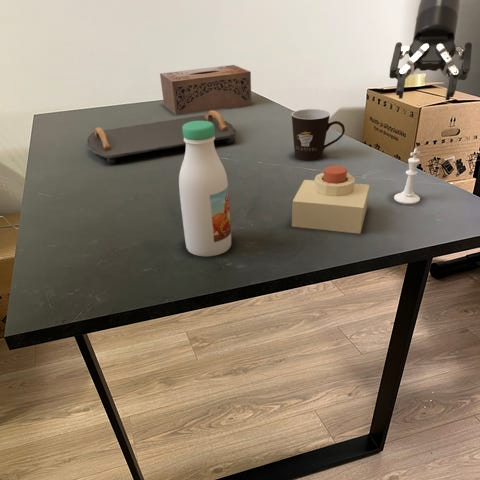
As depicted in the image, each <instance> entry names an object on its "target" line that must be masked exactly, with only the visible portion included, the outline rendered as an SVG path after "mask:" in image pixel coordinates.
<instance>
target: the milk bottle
mask: <svg viewBox="0 0 480 480" xmlns="http://www.w3.org/2000/svg"><path fill="white" fill-rule="evenodd" d="M214 134H215V129H214V124H213V123H212V122H209V121H192V122H188V123H186V124H184V125H183V136H184V142H186V145H185V152H184V158H183V160H182V163H181V166H180V170H179V174H178V188H179V189H178V190H179V191H178V192H179V201H180V209H181V217H182V225H183V233H184V234H183V235H184V241H185V247H186V250H187V251H188V252H189V253H190V254H193V255H194V256H198V257H214V256H218V255H219V256H220V255H222V254H224V253H226V252H228V251H229V249H230V248H231V246H232V226H231V225H232V224H231V209H230V208H231V207H230V191H229V183H228V176H227V172H226V170H225V167H224V164H223V163H222V161H221V159H220V157H219V155H218V152H217V150H216V147H215V141H216V140H215V137H214Z"/></svg>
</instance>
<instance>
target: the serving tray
mask: <svg viewBox="0 0 480 480" xmlns="http://www.w3.org/2000/svg"><path fill="white" fill-rule="evenodd" d="M192 121H209V122H212V123H213V124H214V129H215V134H214V137H215V140H214V141H218V140H224V143H225V144H226V145H231V144H233V143H234V139H233V138H235V137H236V129H235V128H234V126H233V125H232V124H231V123H229V122H228V121H227V120H224V118H223V116H222V115H221V113H220V112H218V111H217V110H208V111H207V114H206V115H195V116H188V117H182V118H176V119H170V120H162V121H156V122H149V123H143V124H136V125H129V126H123V127H115V128H109V129H103V128H102V127H96V128H95V130H94V132H92V133H90V134H89V136H88V137H87V139H86V148H87V149H88V150H89V151H90V152H92V153H93V154H95V155H97V156H98V157H102V158H106V163H107V164H108V165H109V166H112V165H115V164H116V163H117V160H116V158H121V157H126V156H131V155H138V154H145V153H150V152H155V151H160V150H167V149H175V148H179V147H184V146H185V147H186V142H184V136H183V125H184V124H186V123H188V122H192Z"/></svg>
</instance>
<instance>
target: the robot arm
mask: <svg viewBox="0 0 480 480" xmlns="http://www.w3.org/2000/svg"><path fill="white" fill-rule="evenodd" d="M460 7H461V0H420V2H419V6H418V9H417V14H416V18H415V27H414V33H413V38H412V43H411V44H410V45H403V43H402V42H401V41H399V42H396V43H395V46H394V50H393V54H392V57H391V58H392V59H391V61H390V62H391V63H390V66H389V78H390V79H395V80H397V83H396V88H395V95H396V96H398V100H399V99H403V98H404V91H405V86H406V79H408V77H409V76H412V75H413V74H414V73H415V72H416V71H418V70H419V71H422V72H423V71H424V72H425V71H432V72H437V71H438V70H439V71H440V73H442V75H443V76H445V77H446V78H447V79H448V82H447V87H446V94H445V100H444V101H450V99H451V98H454V96H455V94H456V91H457V90H456V89H457V83H458V81H461V80H462V81H466V80H467V79H468V75H469V72H470V70H471V61H472V49H473V43H471V42H469V41H468V42H466V43H465V44H464V45H456V44H455V41H456V40H455V39H456V33H457V27H458V22H459V21H458V20H459V14H460ZM406 55H408V57H409V58H408V60H407V62H406V63H405V64H404V65H403V66H402V67H401V68H400V67H399V65H400V64H399V63H400V60H403V59H404V58H405V56H406ZM455 55H456V56H457V58H458V59H459V61H461V65H460V68H458V67H457V66H456V64H455V61H454V59H453V57H454V56H455Z"/></svg>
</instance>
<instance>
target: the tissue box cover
mask: <svg viewBox="0 0 480 480" xmlns="http://www.w3.org/2000/svg"><path fill="white" fill-rule="evenodd" d="M251 73H252V72H251V71H250V70H248V69H246V68H243V67H240V66H238V65H235V64H231V65H220V66H213V67H211V66H210V67H205V68H204V67H203V68H196V69H195V68H194V69H185V70H179V71H178V70H177V71H171V72H170V71H169V72H162V73H159V77H160V85H161V91H162V92H161V93H162V102H163V107H164V108H167V109H168V110H169V111H170V112H171V113H172V114H174V115H175V116H180V115H187V114H193V113H200V112H209V111H212V110H214V111H216V110H230V109H231V110H232V109H238V108H245V107H251V106H252V75H251Z"/></svg>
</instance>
